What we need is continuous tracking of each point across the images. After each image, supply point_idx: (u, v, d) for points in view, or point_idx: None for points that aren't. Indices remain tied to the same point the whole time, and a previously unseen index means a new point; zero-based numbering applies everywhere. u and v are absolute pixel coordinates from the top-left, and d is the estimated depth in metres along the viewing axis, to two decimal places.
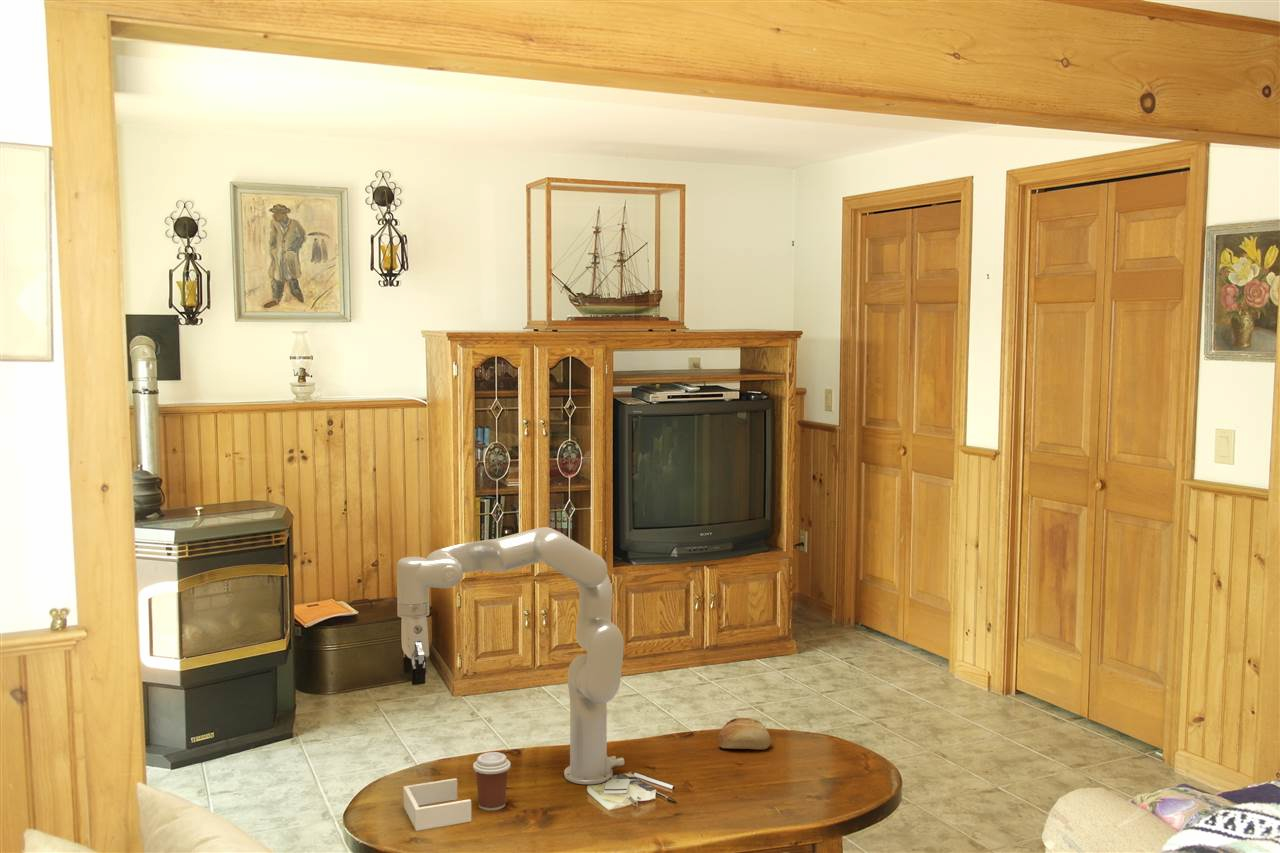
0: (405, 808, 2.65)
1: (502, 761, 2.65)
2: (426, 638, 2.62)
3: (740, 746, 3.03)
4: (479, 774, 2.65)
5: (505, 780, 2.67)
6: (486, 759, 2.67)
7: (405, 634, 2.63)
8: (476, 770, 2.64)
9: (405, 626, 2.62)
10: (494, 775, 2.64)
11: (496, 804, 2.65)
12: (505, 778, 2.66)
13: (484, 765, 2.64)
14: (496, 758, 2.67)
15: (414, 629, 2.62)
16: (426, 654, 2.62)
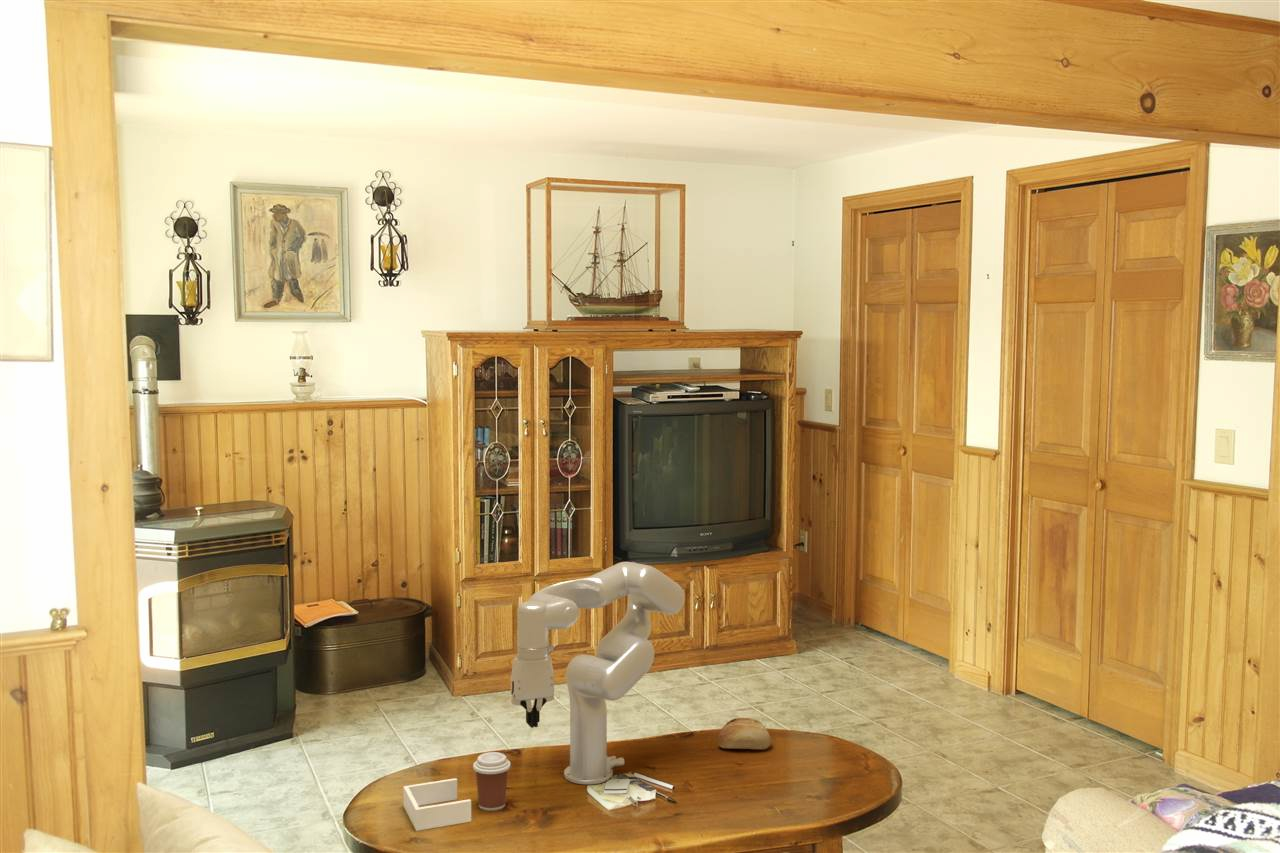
0: (405, 808, 2.65)
1: (502, 761, 2.65)
2: None
3: (740, 746, 3.03)
4: (479, 774, 2.65)
5: (505, 780, 2.67)
6: (486, 759, 2.67)
7: (544, 676, 2.69)
8: (476, 770, 2.64)
9: (544, 668, 2.68)
10: (494, 775, 2.64)
11: (496, 804, 2.65)
12: (505, 778, 2.66)
13: (484, 765, 2.64)
14: (496, 758, 2.67)
15: None
16: None
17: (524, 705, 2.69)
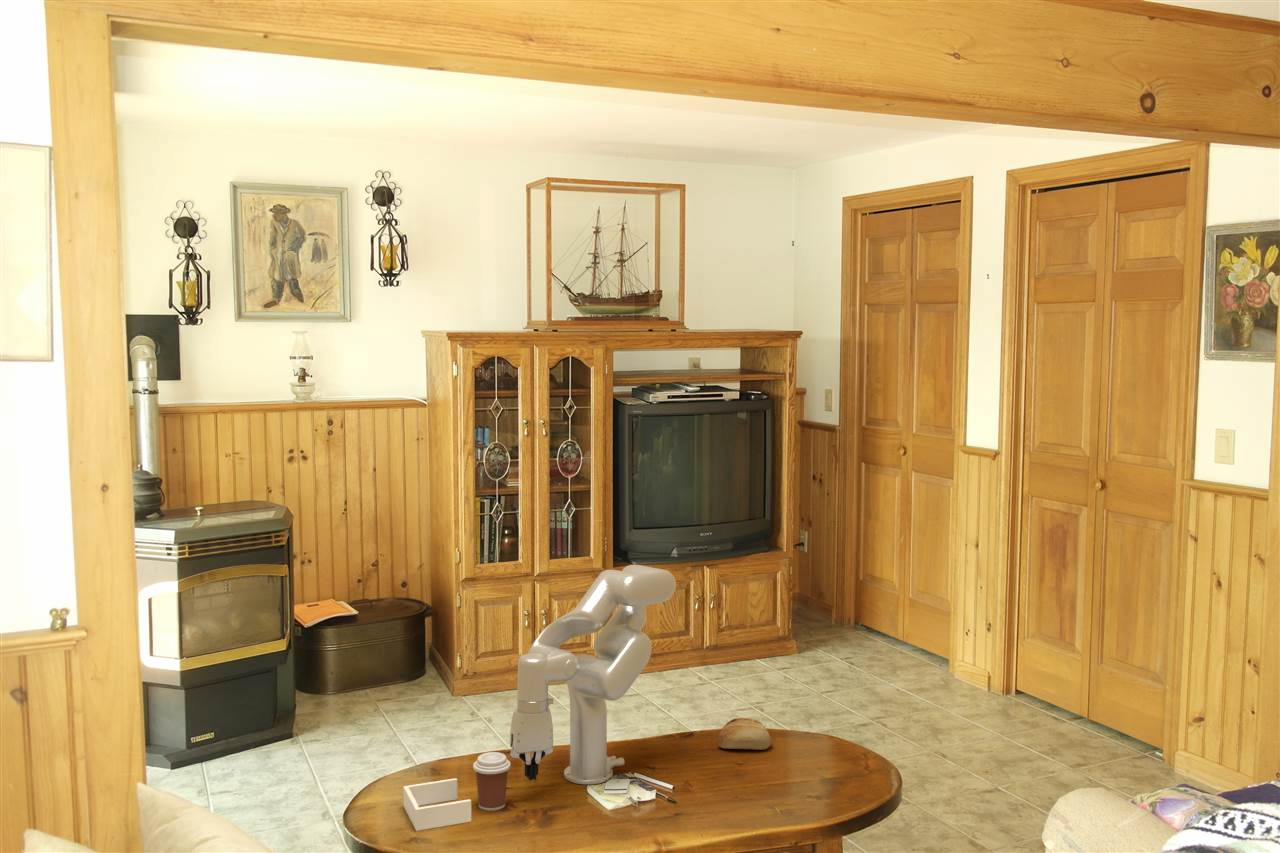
0: (405, 808, 2.65)
1: (502, 761, 2.65)
2: None
3: (740, 746, 3.03)
4: (479, 774, 2.65)
5: (505, 780, 2.67)
6: (486, 759, 2.67)
7: (543, 729, 2.69)
8: (476, 770, 2.64)
9: (543, 721, 2.69)
10: (494, 775, 2.64)
11: (496, 804, 2.65)
12: (505, 778, 2.66)
13: (484, 765, 2.64)
14: (496, 758, 2.67)
15: None
16: None
17: (523, 758, 2.69)
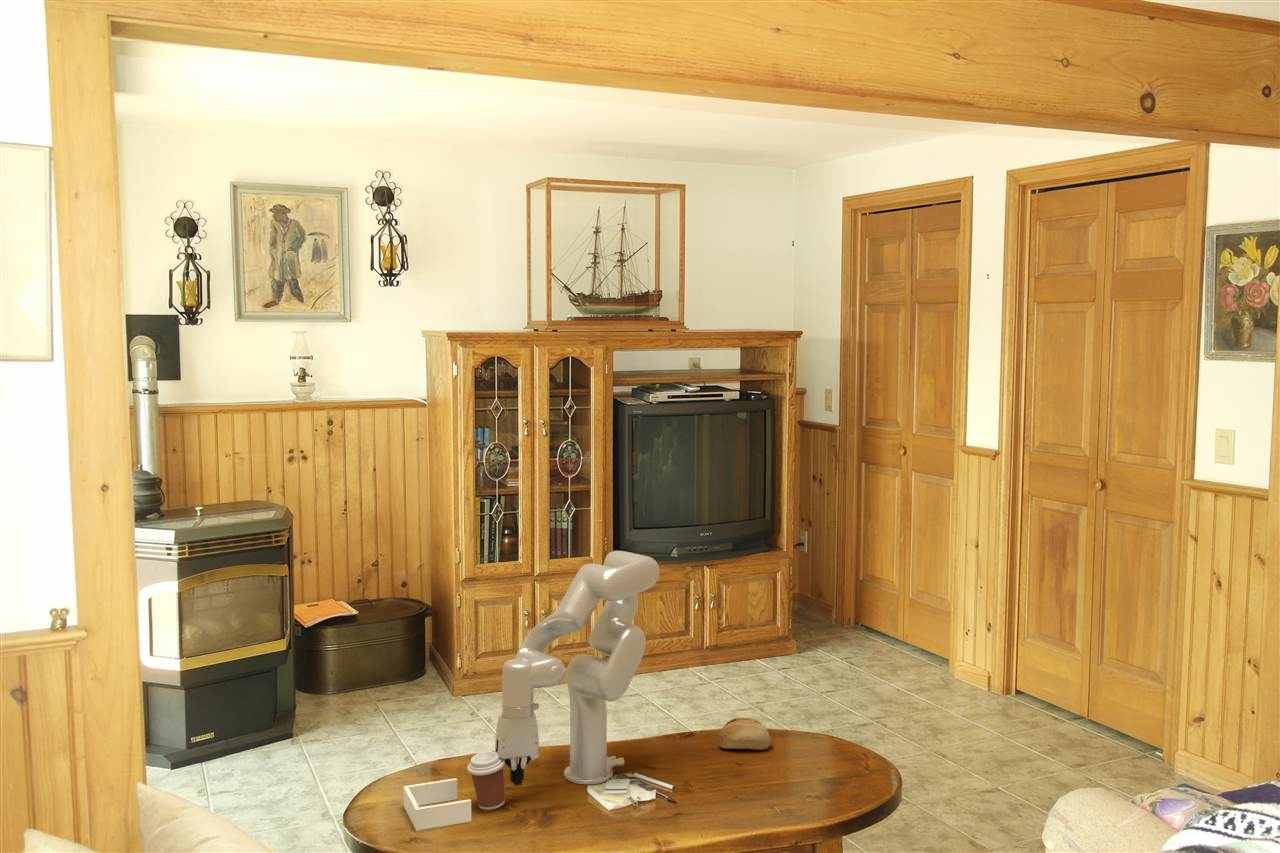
0: (405, 808, 2.65)
1: (495, 760, 2.65)
2: None
3: (740, 746, 3.03)
4: (474, 776, 2.64)
5: (501, 778, 2.66)
6: (479, 760, 2.66)
7: (528, 734, 2.68)
8: (470, 772, 2.64)
9: (529, 726, 2.68)
10: (488, 775, 2.63)
11: (495, 802, 2.65)
12: (501, 776, 2.66)
13: (477, 766, 2.63)
14: (489, 757, 2.66)
15: (533, 725, 2.70)
16: None
17: (508, 763, 2.68)
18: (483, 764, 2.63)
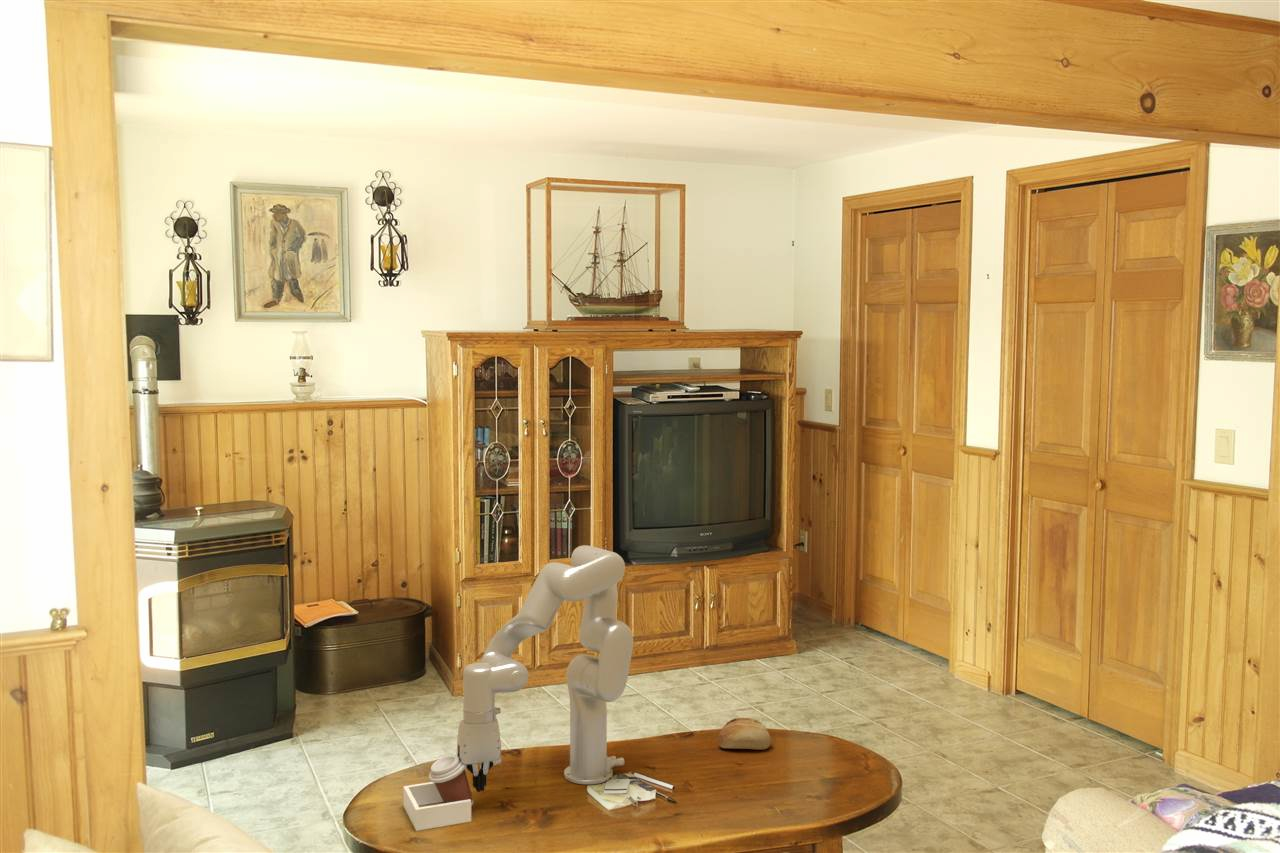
0: (405, 808, 2.65)
1: (454, 765, 2.61)
2: None
3: (740, 746, 3.03)
4: (436, 783, 2.61)
5: (464, 781, 2.62)
6: (439, 766, 2.62)
7: (490, 739, 2.64)
8: (431, 780, 2.60)
9: (490, 731, 2.64)
10: (450, 781, 2.60)
11: None
12: (463, 779, 2.62)
13: (437, 774, 2.60)
14: (449, 762, 2.63)
15: None
16: None
17: (470, 769, 2.64)
18: (442, 771, 2.59)
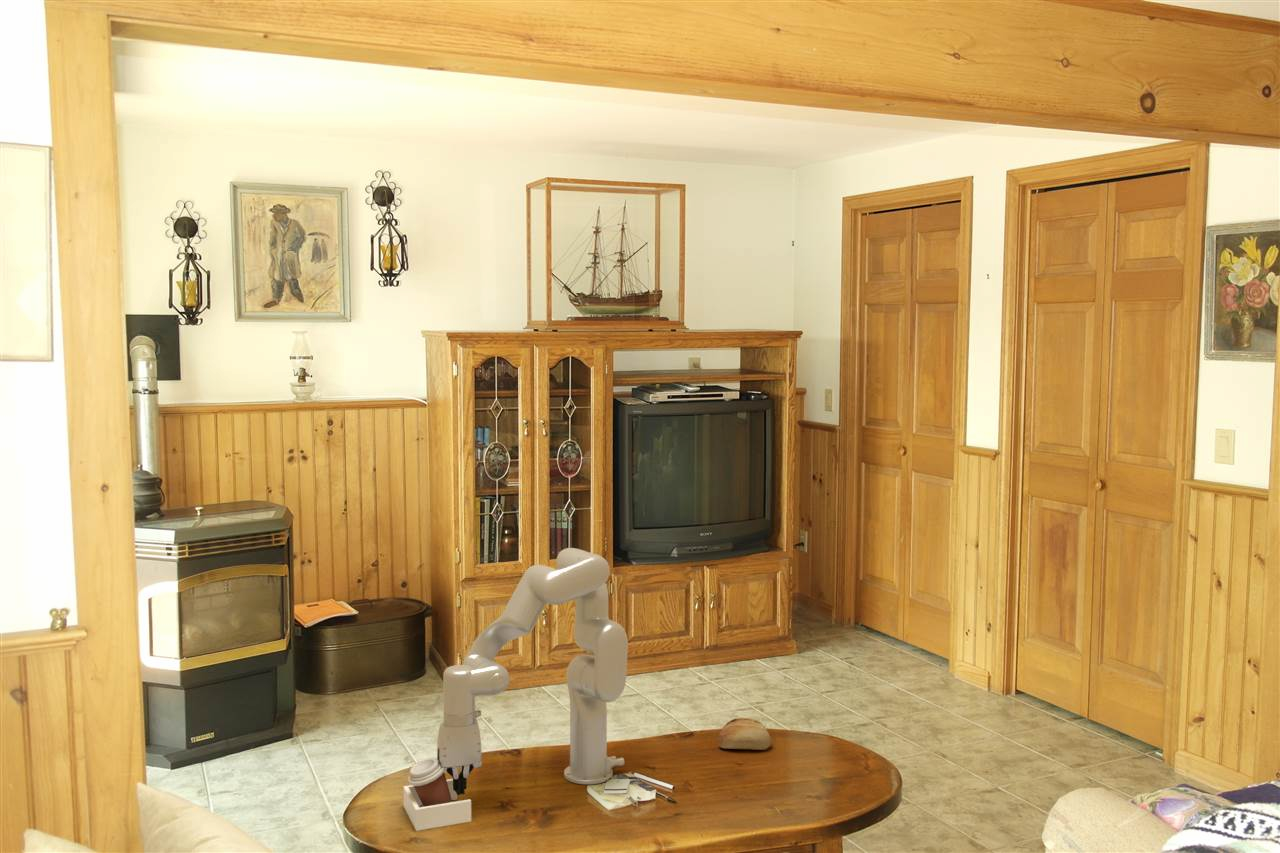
0: (405, 808, 2.65)
1: (433, 768, 2.59)
2: None
3: (740, 746, 3.03)
4: (415, 786, 2.59)
5: (443, 784, 2.60)
6: (418, 769, 2.60)
7: (470, 742, 2.62)
8: (410, 783, 2.59)
9: (471, 734, 2.62)
10: (428, 784, 2.58)
11: None
12: (442, 782, 2.60)
13: (416, 777, 2.58)
14: (428, 765, 2.61)
15: None
16: None
17: (450, 772, 2.62)
18: (421, 774, 2.58)
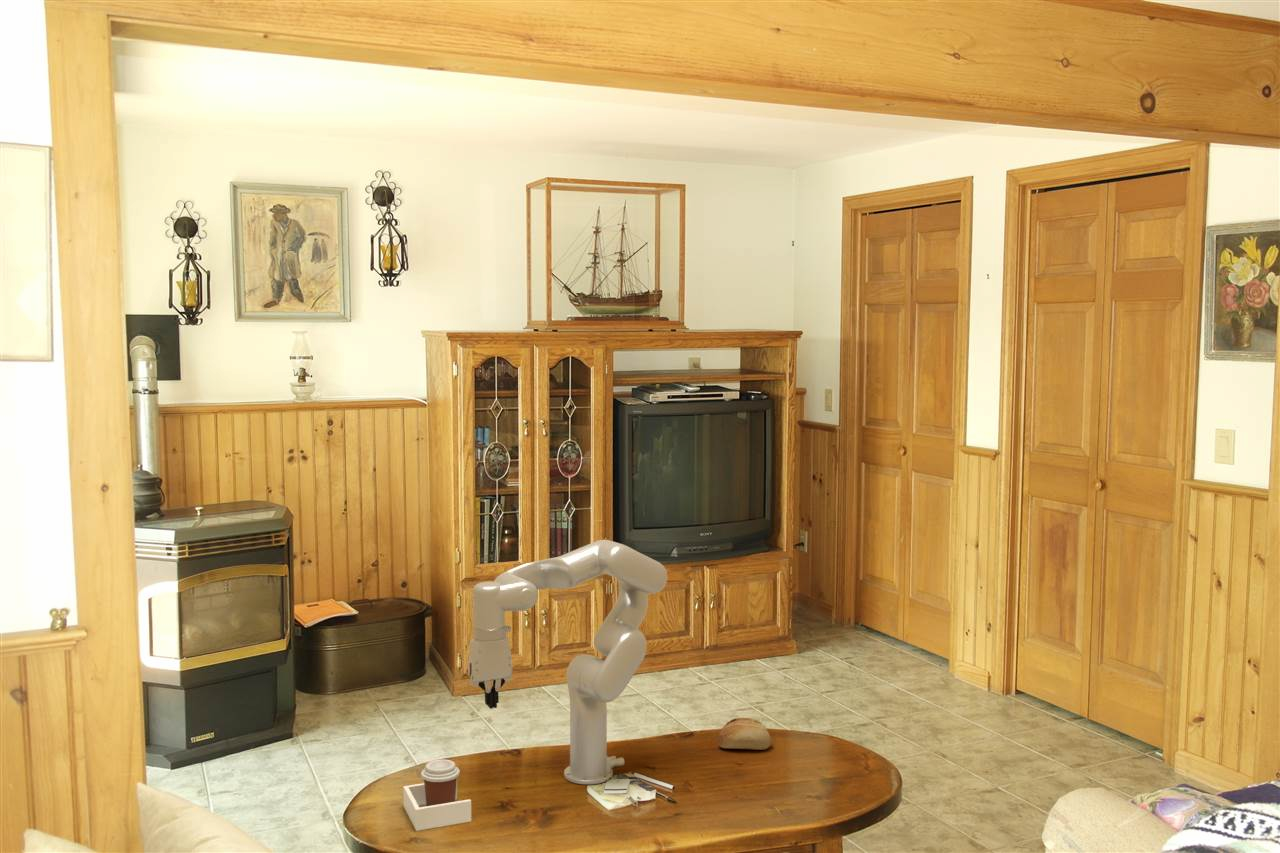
0: (405, 808, 2.65)
1: (450, 769, 2.60)
2: None
3: (740, 746, 3.03)
4: (426, 782, 2.60)
5: (453, 788, 2.62)
6: (434, 766, 2.62)
7: (501, 656, 2.67)
8: (423, 777, 2.60)
9: (501, 648, 2.67)
10: (441, 783, 2.59)
11: None
12: (453, 786, 2.61)
13: (431, 773, 2.59)
14: (444, 766, 2.62)
15: None
16: None
17: (482, 686, 2.67)
18: (437, 771, 2.59)
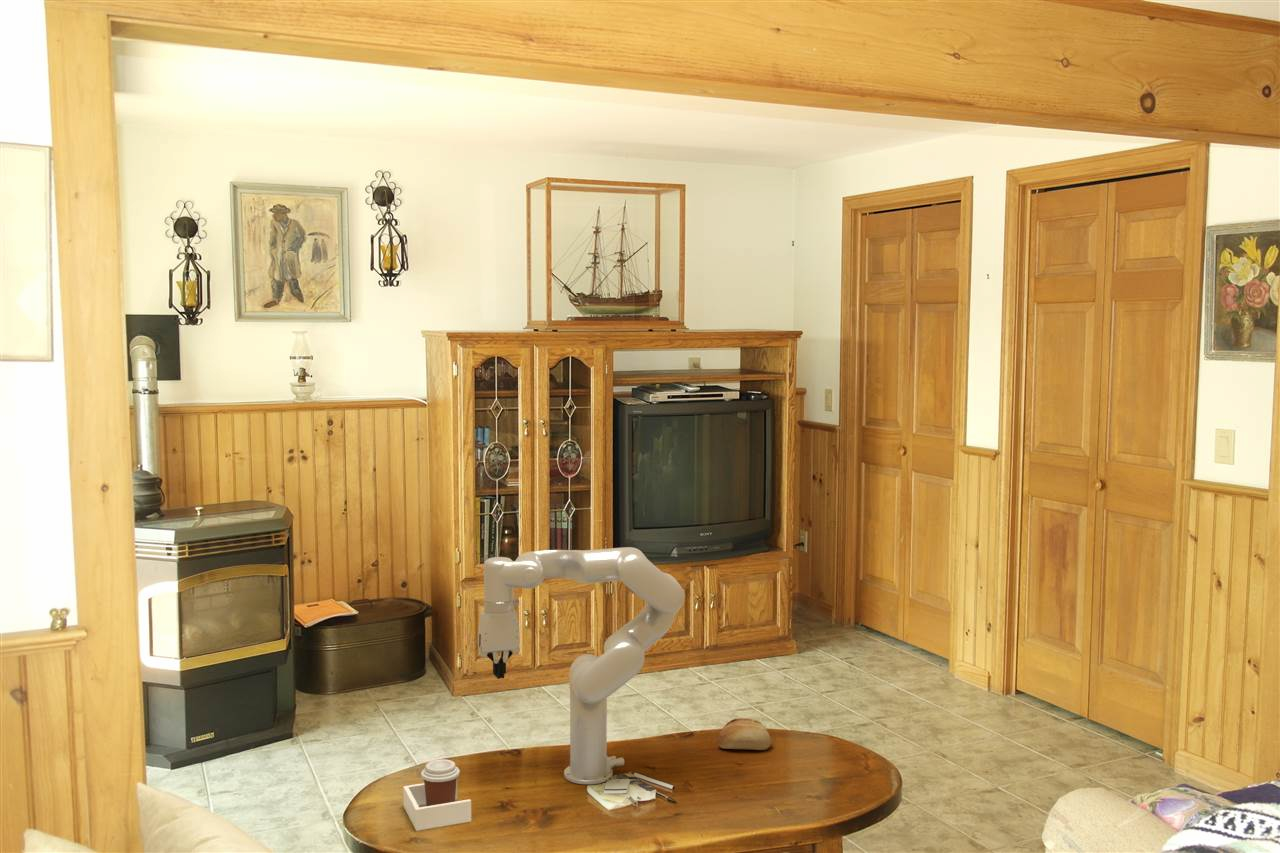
0: (405, 808, 2.65)
1: (450, 769, 2.60)
2: None
3: (740, 746, 3.03)
4: (426, 782, 2.60)
5: (453, 788, 2.62)
6: (434, 766, 2.62)
7: (509, 629, 2.79)
8: (423, 777, 2.60)
9: (510, 621, 2.79)
10: (441, 783, 2.59)
11: None
12: (453, 786, 2.61)
13: (431, 773, 2.59)
14: (444, 766, 2.62)
15: (514, 621, 2.81)
16: None
17: (491, 657, 2.79)
18: (437, 771, 2.59)
